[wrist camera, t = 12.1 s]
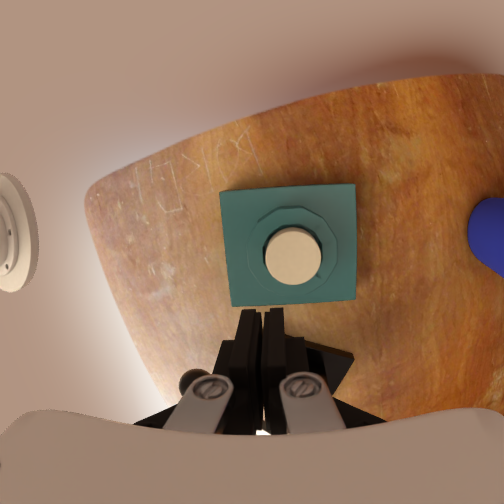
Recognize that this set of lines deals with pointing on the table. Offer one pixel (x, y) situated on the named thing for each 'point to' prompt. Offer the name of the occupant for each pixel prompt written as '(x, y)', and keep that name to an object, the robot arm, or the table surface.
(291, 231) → the button
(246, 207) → the button block
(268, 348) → the robot arm
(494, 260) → the mug
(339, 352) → the bracket
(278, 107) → the table surface
